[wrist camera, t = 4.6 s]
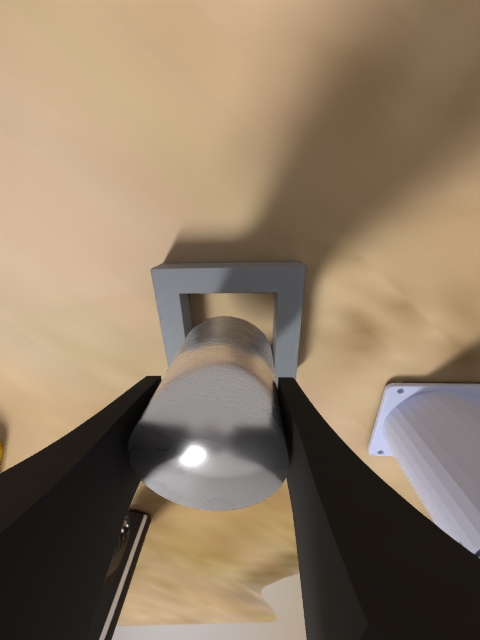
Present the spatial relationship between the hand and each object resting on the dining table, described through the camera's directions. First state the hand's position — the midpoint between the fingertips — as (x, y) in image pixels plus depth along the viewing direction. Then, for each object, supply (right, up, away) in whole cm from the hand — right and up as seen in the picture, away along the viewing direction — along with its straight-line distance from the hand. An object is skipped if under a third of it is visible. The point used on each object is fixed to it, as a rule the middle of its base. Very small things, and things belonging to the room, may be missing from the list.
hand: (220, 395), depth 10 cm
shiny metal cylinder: (0, +1, +3) cm, 3 cm away
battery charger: (-13, -22, +18) cm, 31 cm away
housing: (0, +3, +7) cm, 7 cm away
